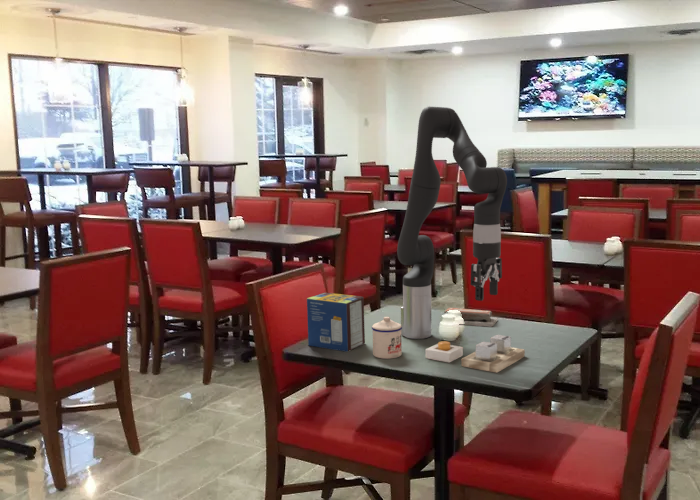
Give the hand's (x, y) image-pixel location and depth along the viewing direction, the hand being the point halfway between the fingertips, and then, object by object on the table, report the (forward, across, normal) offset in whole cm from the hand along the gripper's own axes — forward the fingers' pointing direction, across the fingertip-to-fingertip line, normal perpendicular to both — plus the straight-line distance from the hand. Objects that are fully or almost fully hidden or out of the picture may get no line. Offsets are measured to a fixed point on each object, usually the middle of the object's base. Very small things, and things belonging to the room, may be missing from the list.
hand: (486, 297), depth 201 cm
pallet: (+20, -4, 0) cm, 20 cm away
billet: (+20, -9, 0) cm, 21 cm away
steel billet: (+20, 0, 0) cm, 20 cm away
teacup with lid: (+20, +4, -30) cm, 36 cm away
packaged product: (+21, -43, -28) cm, 56 cm away
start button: (+17, -1, -14) cm, 22 cm away
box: (+20, 0, -14) cm, 24 cm away
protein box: (+20, +6, -50) cm, 54 cm away
